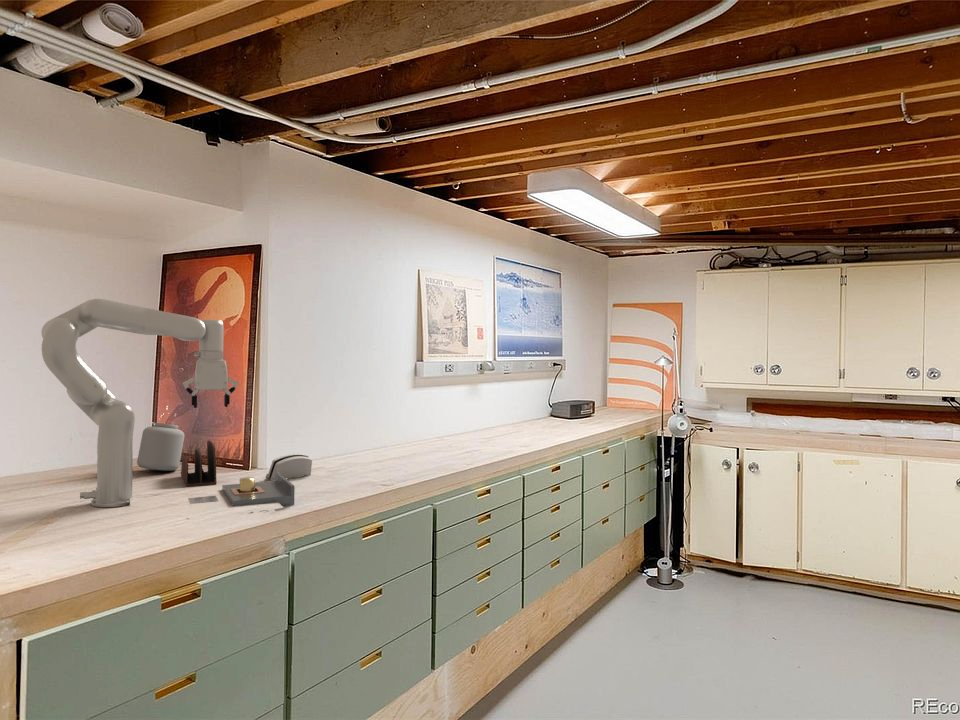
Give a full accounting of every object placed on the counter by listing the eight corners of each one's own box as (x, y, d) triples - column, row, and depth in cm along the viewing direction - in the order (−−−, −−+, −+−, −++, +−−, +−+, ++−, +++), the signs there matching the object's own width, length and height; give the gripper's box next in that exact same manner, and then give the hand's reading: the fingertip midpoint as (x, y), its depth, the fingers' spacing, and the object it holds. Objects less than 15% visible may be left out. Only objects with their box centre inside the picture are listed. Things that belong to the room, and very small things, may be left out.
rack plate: (233, 511, 195) (233, 491, 195) (222, 494, 216) (222, 476, 216) (294, 504, 204) (294, 485, 203) (278, 489, 225) (278, 471, 224)
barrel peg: (240, 502, 205) (241, 480, 205) (238, 499, 209) (238, 477, 209) (255, 501, 207) (256, 479, 207) (253, 498, 211) (253, 476, 211)
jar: (169, 465, 264) (170, 403, 263) (196, 468, 258) (197, 405, 258) (127, 473, 247) (128, 407, 246) (156, 477, 241) (156, 409, 240)
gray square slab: (190, 508, 197) (190, 503, 196) (188, 502, 204) (188, 498, 203) (218, 506, 200) (218, 501, 200) (215, 500, 207) (215, 495, 207)
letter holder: (209, 474, 247) (210, 437, 247) (216, 485, 230) (217, 445, 230) (180, 477, 242) (181, 439, 242) (185, 487, 225) (186, 447, 225)
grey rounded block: (303, 472, 254) (309, 449, 251) (310, 478, 251) (315, 455, 248) (264, 478, 241) (269, 454, 239) (270, 485, 238) (276, 460, 236)
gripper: (184, 356, 212) (183, 409, 212) (240, 356, 220) (239, 407, 221) (182, 355, 219) (181, 406, 219) (236, 356, 227) (236, 405, 227)
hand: (210, 407), depth 220 cm, fingers open, 9 cm apart
